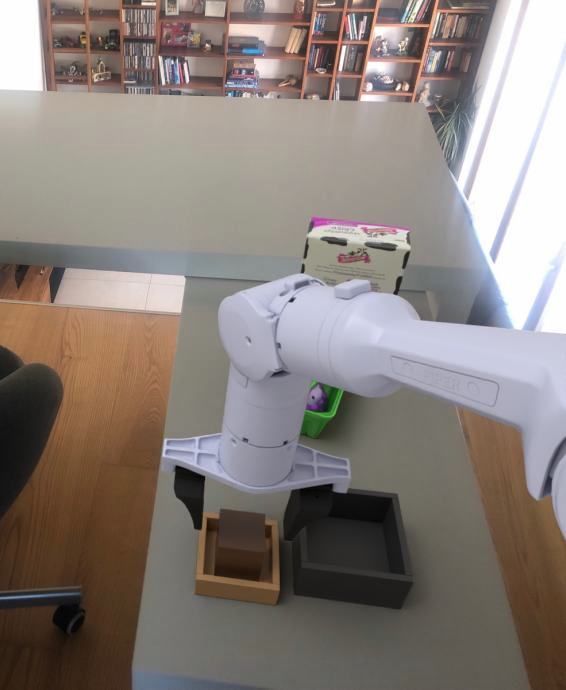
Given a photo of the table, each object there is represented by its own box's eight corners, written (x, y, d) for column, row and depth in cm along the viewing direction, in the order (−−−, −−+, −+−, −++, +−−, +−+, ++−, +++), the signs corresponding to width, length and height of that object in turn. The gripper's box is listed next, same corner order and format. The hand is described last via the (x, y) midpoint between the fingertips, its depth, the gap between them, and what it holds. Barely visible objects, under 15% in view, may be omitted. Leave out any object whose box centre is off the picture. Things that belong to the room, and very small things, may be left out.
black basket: (400, 609, 61) (414, 582, 58) (293, 594, 62) (301, 567, 59) (386, 521, 68) (397, 493, 65) (289, 510, 69) (297, 481, 66)
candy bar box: (378, 338, 88) (412, 226, 78) (377, 363, 85) (414, 250, 74) (289, 323, 91) (310, 213, 80) (285, 347, 87) (307, 235, 77)
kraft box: (275, 605, 61) (279, 590, 60) (194, 594, 62) (196, 579, 61) (274, 536, 67) (278, 520, 65) (199, 526, 68) (201, 511, 66)
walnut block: (258, 583, 62) (265, 552, 59) (213, 577, 63) (218, 546, 60) (258, 545, 65) (265, 513, 62) (215, 539, 66) (220, 508, 63)
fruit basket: (324, 451, 74) (346, 375, 67) (245, 425, 78) (257, 349, 70) (348, 385, 82) (370, 309, 75) (275, 363, 85) (289, 289, 78)
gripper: (357, 391, 54) (324, 498, 62) (170, 373, 56) (164, 479, 64) (368, 461, 48) (330, 568, 57) (161, 438, 50) (156, 544, 59)
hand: (242, 525), depth 60 cm, fingers open, 7 cm apart
